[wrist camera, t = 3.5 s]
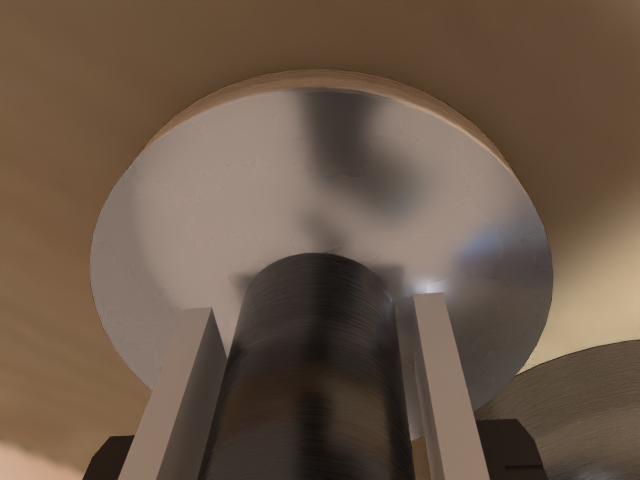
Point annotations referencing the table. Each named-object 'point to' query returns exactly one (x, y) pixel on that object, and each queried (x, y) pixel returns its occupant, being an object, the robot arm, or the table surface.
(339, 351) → the lid
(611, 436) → the pot
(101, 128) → the table surface
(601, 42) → the table surface
